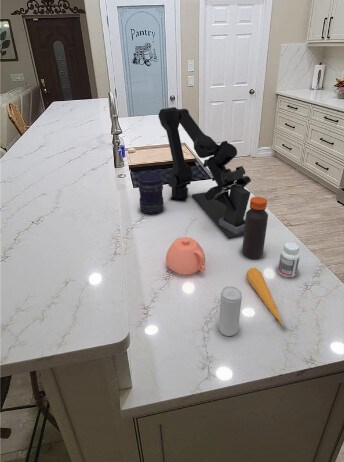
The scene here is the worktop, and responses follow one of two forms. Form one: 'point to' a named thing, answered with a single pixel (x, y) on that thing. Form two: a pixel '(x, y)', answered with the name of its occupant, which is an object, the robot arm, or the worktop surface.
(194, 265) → the pink dome with handle
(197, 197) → the base pad
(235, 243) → the worktop surface
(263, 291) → the carrot
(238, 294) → the beverage can
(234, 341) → the worktop surface
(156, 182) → the storage jar
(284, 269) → the pill bottle
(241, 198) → the pad block
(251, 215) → the vinegar
